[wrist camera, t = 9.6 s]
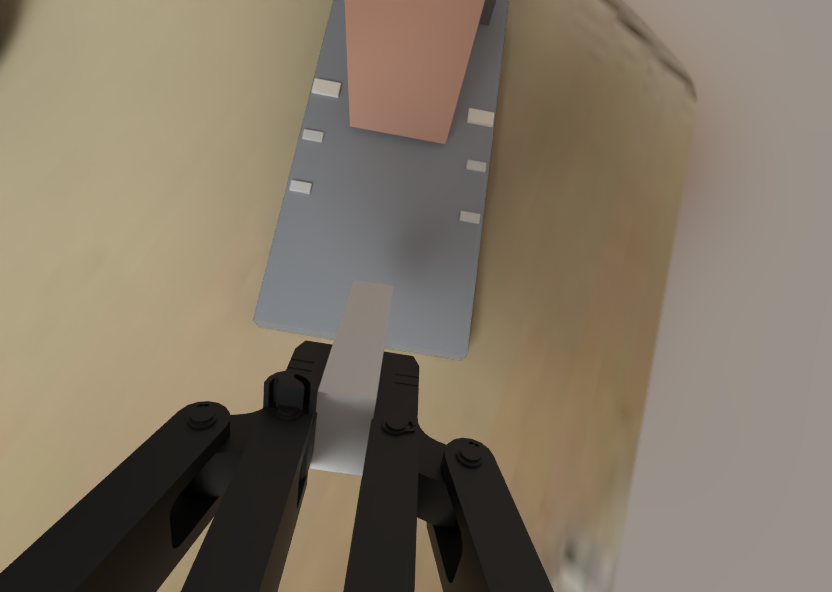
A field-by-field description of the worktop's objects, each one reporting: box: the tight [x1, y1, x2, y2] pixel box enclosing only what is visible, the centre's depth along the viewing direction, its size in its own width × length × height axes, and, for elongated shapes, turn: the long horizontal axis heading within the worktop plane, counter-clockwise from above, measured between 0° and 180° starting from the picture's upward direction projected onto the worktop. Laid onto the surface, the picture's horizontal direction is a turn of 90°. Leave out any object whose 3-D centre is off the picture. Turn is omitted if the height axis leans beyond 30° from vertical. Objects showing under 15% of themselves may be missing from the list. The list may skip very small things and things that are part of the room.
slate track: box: [253, 0, 509, 360], centre depth 24 cm, size 22×10×8 cm, turn 172°
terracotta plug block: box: [345, 0, 485, 144], centre depth 22 cm, size 6×5×10 cm
